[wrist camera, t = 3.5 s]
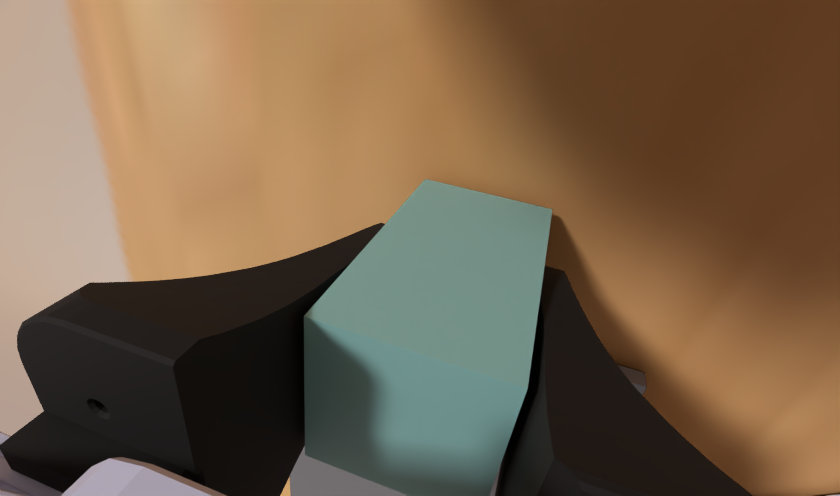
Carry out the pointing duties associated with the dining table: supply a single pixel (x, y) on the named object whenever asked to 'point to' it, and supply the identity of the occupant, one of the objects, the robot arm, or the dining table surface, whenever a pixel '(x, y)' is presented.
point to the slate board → (345, 492)
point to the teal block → (428, 344)
